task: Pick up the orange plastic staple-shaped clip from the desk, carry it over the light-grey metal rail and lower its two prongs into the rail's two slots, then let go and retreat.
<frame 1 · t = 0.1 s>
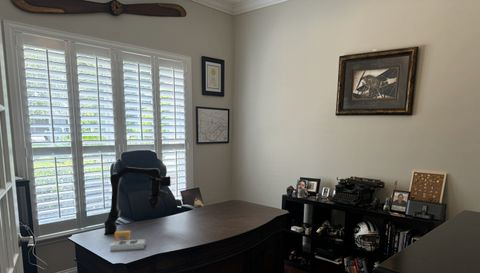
hand: (154, 209, 190), 14 cm above the table, fingers open, 9 cm apart
clip: (122, 241, 169), on the table
rail: (128, 247, 161), on the table
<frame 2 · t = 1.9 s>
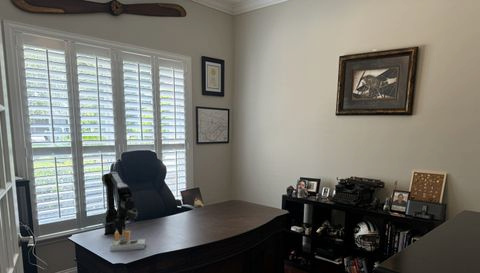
hand: (122, 232, 169), 6 cm above the table, fingers open, 9 cm apart
nothing on the table moved.
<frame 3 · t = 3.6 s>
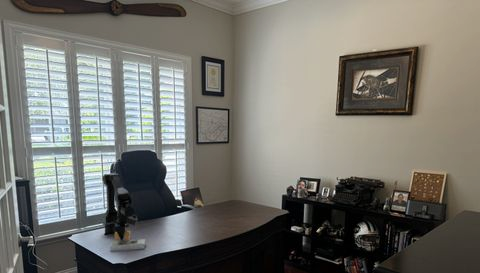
hand: (122, 238, 169), 2 cm above the table, fingers closed on clip, 3 cm apart
clip: (122, 241, 169), on the table, touching gripper
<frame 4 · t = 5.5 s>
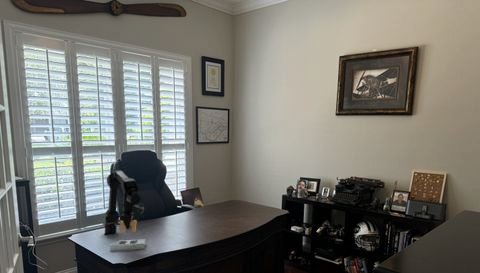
hand: (128, 228, 161), 11 cm above the table, fingers closed on clip, 3 cm apart
clip: (128, 231, 161), point 9 cm above the table, touching gripper
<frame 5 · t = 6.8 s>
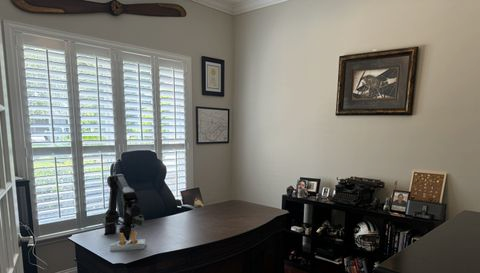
hand: (128, 239, 161), 4 cm above the table, fingers closed on clip, 3 cm apart
clip: (128, 243, 161), point 2 cm above the table, touching gripper
when the fingers open (4 cm above the table, at t = 7.9 s): clip drops 2 cm, on the table.
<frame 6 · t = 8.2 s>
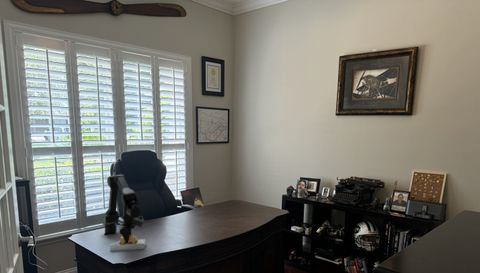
hand: (128, 240, 161), 4 cm above the table, fingers open, 6 cm apart
clip: (128, 247, 161), on the table
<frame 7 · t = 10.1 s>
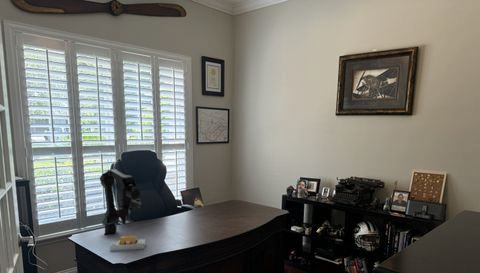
hand: (125, 221, 173), 12 cm above the table, fingers open, 9 cm apart
nothing on the table moved.
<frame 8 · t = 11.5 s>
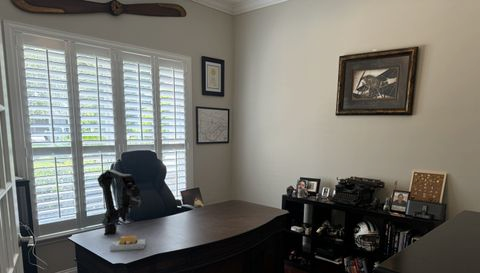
hand: (126, 219, 174), 12 cm above the table, fingers open, 9 cm apart
nothing on the table moved.
at the end: clip 0.0 cm off-centre on the rail, point 0.0 cm above the rail's base; clip tilted 0°; the gripper is holding nothing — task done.
